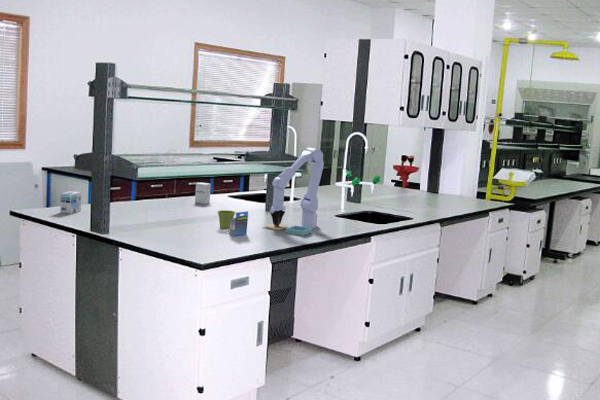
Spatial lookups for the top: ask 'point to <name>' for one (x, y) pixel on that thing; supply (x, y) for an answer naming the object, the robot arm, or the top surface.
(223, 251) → the top surface
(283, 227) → the lid
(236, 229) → the label tape box
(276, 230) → the mat
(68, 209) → the light bulb box
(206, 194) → the supplement box
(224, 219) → the plant pot
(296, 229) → the dish
